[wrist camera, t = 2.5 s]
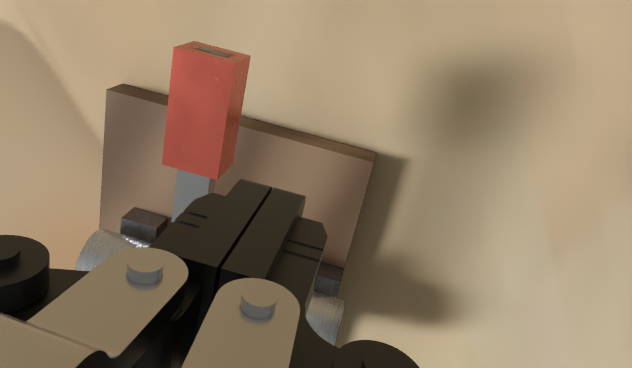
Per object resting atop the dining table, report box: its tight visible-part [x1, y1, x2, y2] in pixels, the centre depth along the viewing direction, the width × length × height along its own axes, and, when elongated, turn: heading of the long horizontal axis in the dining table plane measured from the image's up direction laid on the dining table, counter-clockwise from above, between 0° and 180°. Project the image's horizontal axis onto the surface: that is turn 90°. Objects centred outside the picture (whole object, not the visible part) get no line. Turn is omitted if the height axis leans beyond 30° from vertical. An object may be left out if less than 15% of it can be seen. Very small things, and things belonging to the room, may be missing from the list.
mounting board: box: [99, 84, 376, 268], centre depth 29 cm, size 14×14×2 cm
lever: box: [162, 41, 250, 223], centre depth 20 cm, size 14×3×2 cm, turn 168°
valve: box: [75, 207, 346, 346], centre depth 26 cm, size 13×4×7 cm, turn 78°
